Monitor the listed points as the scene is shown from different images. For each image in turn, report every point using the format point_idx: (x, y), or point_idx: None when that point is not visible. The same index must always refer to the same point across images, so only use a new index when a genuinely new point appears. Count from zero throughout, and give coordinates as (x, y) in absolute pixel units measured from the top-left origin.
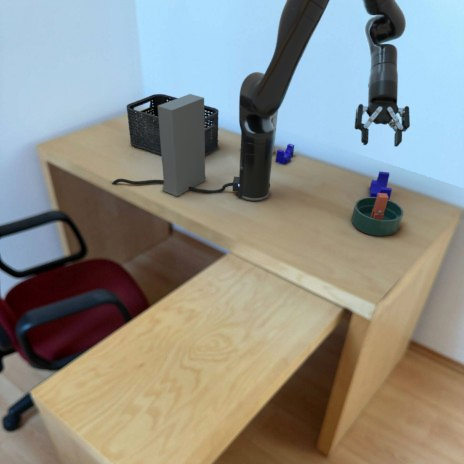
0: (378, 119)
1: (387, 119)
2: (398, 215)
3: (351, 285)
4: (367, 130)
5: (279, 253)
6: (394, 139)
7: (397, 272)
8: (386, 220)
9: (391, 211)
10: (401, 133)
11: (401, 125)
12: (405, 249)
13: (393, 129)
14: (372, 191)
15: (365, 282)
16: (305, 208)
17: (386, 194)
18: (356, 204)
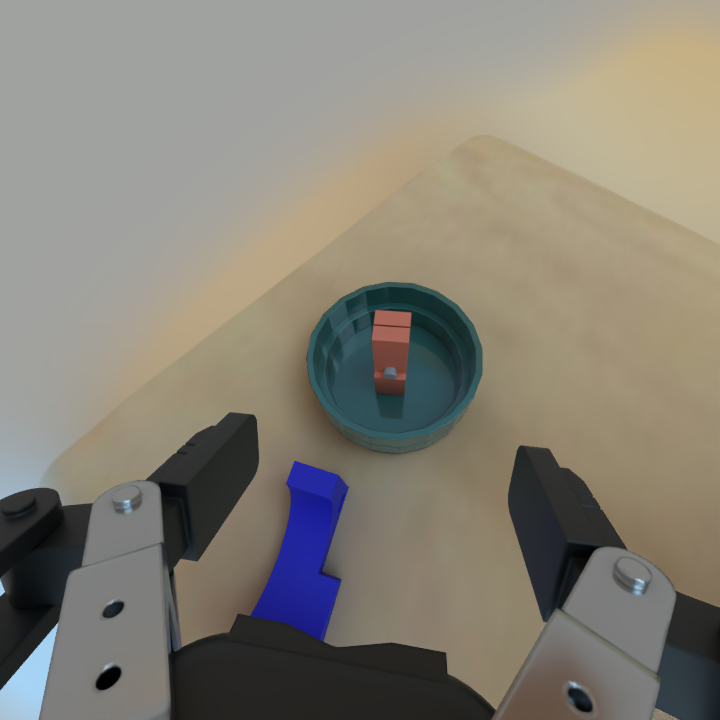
0: (431, 672)
1: (255, 645)
2: (319, 359)
3: (517, 164)
4: (573, 525)
5: (701, 253)
6: (230, 510)
7: (404, 196)
8: (393, 284)
9: (329, 390)
10: (157, 476)
11: (99, 516)
12: (349, 266)
13: (178, 615)
14: (329, 595)
15: (485, 171)
16: (642, 498)
17: (375, 332)
18: (473, 382)
